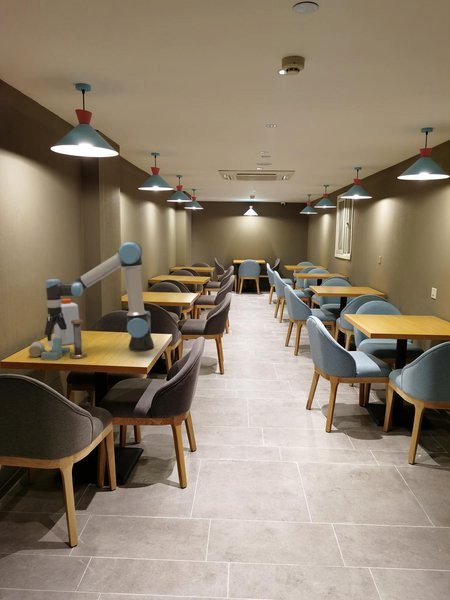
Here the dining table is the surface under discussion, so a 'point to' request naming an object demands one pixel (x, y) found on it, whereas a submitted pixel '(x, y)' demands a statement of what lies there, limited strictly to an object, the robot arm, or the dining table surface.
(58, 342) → the peg
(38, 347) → the ceramic mug
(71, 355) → the bobbin
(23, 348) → the dining table surface
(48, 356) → the teal z-shaped block
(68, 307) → the plastic bottle
